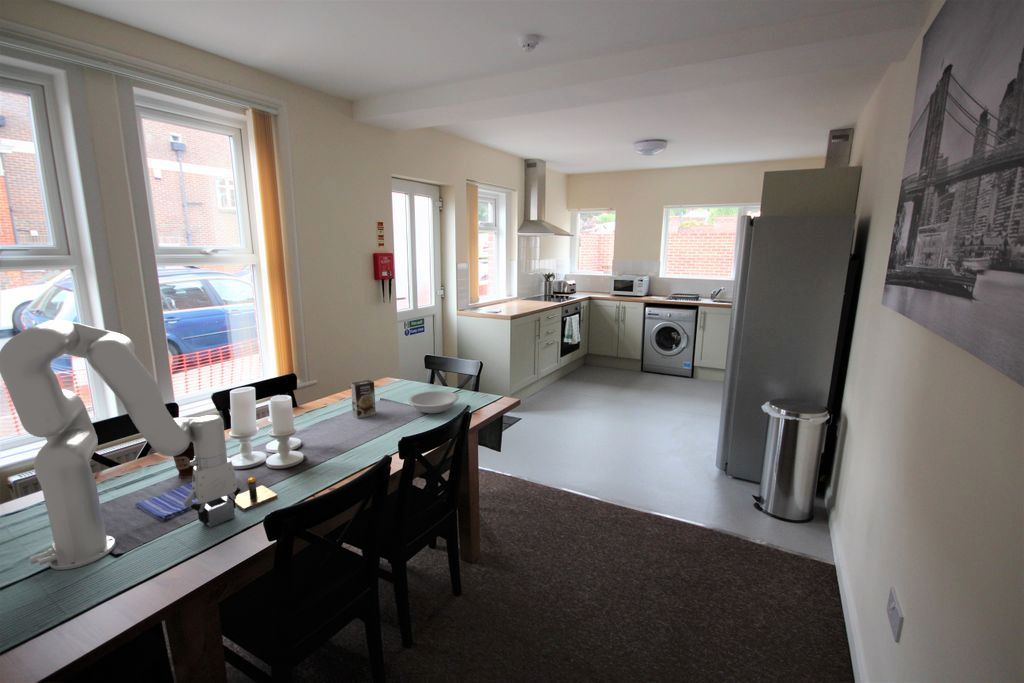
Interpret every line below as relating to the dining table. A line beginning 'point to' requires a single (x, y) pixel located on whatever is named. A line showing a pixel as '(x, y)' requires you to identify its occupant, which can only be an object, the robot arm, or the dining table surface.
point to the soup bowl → (433, 401)
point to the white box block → (219, 511)
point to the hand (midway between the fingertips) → (217, 516)
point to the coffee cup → (185, 462)
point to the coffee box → (363, 399)
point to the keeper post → (254, 496)
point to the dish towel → (167, 503)
